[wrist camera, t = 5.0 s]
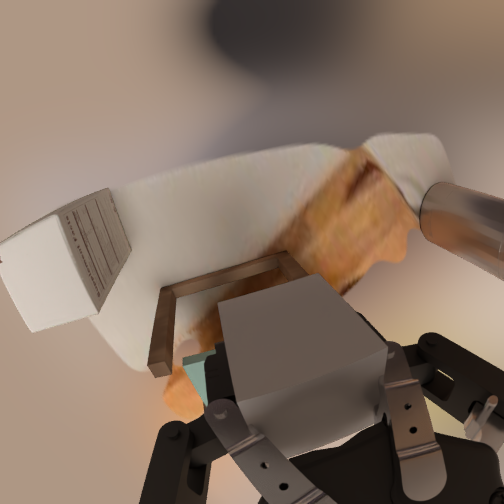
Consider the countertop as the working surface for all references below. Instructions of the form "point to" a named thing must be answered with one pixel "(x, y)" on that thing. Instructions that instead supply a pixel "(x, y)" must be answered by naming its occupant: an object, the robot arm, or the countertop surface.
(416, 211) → the countertop surface
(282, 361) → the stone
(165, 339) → the frame
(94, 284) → the supplement box
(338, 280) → the countertop surface
